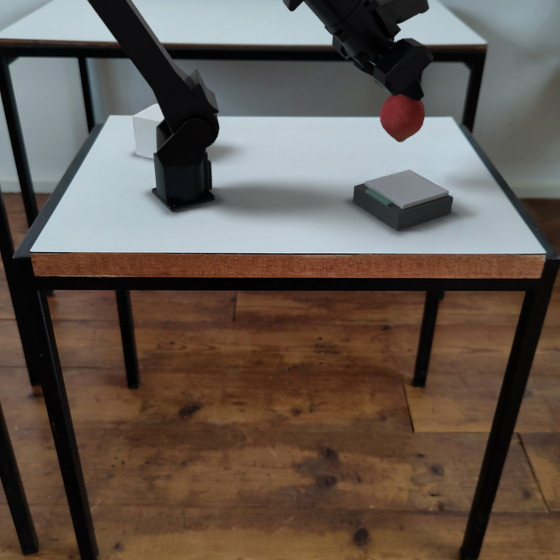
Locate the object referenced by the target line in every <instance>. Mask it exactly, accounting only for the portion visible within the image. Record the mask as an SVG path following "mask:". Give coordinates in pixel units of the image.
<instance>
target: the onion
mask: <svg viewBox="0 0 560 560" xmlns="http://www.w3.org/2000/svg"><path fill="white" fill-rule="evenodd" d="M425 110H426V109H425V105H424V103H423V101H422V99H421V100H420V101H416V100H413V99H411V98H409V97H406V96H404V95H401V94H399V95H397V96H394V97H393V96H392V95H391V94H390V95H388V96H387V98H386V99H385V100H384V102H383V105H382V107H381V109H380V113H379V122H380V125H381V127H382V129H383V130H384V131H385V132H386V133H387V135H389V136H390V137H391V138H392V139H394V140H395V141H396V142H398V143H403V142H405V141H406V140H407V139H409V138H411V137H413V136H415V134H418V132H419V131H420V130H421V129H422V127H423V125H424V122H425V118H426V111H425Z"/></svg>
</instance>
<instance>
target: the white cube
mask: <svg viewBox="0 0 560 560" xmlns="http://www.w3.org/2000/svg"><path fill="white" fill-rule="evenodd" d="M131 118H132V127H133V137H134V147H135V155H136V156H140V157H145V158H149V159H153V160H154V157H153V153H156V152H157V148H156V127H157V125H158V124H159V123H160V122H161V121H162V120H163V119H164V116H163V114H162V112H161V109H160V107H159V104H158V103H154V104H152V105H150V106H147V107H146V108H145V109H143V110H140V111H139V112H138V113H135V114H133V115H131Z"/></svg>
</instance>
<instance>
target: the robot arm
mask: <svg viewBox="0 0 560 560" xmlns="http://www.w3.org/2000/svg"><path fill="white" fill-rule="evenodd" d="M86 2H87V3H88V4H89V5H90V6H91V8H92V9H93V10H94V13H96V15H97V16H98V17H99V18H100V20H101V22H102V23H103V24H104V26H105V27H106V28H107V30H108V31H109V33H110V34H111V35H112V36H113V38H114V39H115V41H116V42H117V44H118V45H119V46H120V48H121V49H122V51H123V52H124V53H125V54H126V56H127V57H128V59H129V60H130V61H131V63H132V64H133V65H134V67H135V68H136V69H137V71H138V72H139V74H140V75H141V76H142V78H143V79H144V80H145V82H146V84H147V85H148V86H149V88H150V89H151V91H152V92H153V95H154V97H155V99H156V102H157V104H159V107H160V109H161V112H162V114H163V116H164V119H163V120H162V121H161V122H160V123H159V124H158V125H157V127H156V148H157V152H156V153H153V157H154V159H153V166H154V167H153V168H154V177H155V178H154V179H155V187H152V188H151V194H153V195H154V197H156V198H157V199H158V201H160V202H161V203H162V204H163V205H164V206H165V207H166V208H167V209H168V210H169V211H171V212H173V211H174V212H175V211H179V210H183V209H187V208H190V207H194V206H198V205H202V204H205V203H209V202H213V201H216V195H215V194H214V193H213V192H212V190H213V188H214V187H213V170H212V169H213V168H212V167H213V166H212V161H211V160H209V153H208V150H207V148H209V147H211V146H212V145H213V144H214V143H215V142H216V140H217V139H218V137H219V133H220V122H219V118H218V117H219V116H218V114H219V113H220V110H219V106H218V101H217V97H216V94H215V92H214V91H212V90H211V89H209V87H208V86H207V85H206V84H205V82H204V80H203V77H202V75H201V74H200V71H199V69H197V68H196V69H195V70H193V72H191V73H190V74H188V73H186V71H184V70H183V69H181V68H180V67H179V66H178V65H177V64H176V63H175V61H174V60H173V58H172V57H171V55H170V54H169V53H168V51H167V50H166V48H165V46H164V45H163V44H162V42H161V40H159V38H158V36H157V35H156V33H155V32H154V31H153V29H152V27H150V25H149V24H148V22H147V21H146V19H145V18H144V16H143V15H142V13H141V12H140V10H139V9H138V7H137V6H136V5H135V3H134V1H133V0H86ZM282 3H283V5H284V6H285V7H286V8H287V9H288V11H289V12H291V13H292V12H295V11H296V10H297V9H298V8H299V7H300V5H302V4H303V3H304V4H305V5H306V6H307V7H308V8H309V9H310V11H311V12H312V13H313V14H314V15H315V16H316V17H317V19H318V20H319V21H320V22H321V23H322V24H323V25H324V27H323V28H324V29H325V30H326V31H327V32H328V34H330V35H331V36H332V39H331V40H332V41H331V46H332V47H333V48H334V49H335V50H336V52H337V53H338V54H339V55H340V56H342V57H343V58H344V59H345V60H348V59H349V58H352V59H353V60H354V61H353V62H352V65H353V66H354V67H355V68H357V69H358V70H360V71H361V72H363V73H364V74H367V75H369V76H371V77H372V78H373V79H374V82H375V83H376V84H377V85H378V86H380V87H381V89H383V90H384V91H386V92H387V93H388V94H390V95H392V96H393V97H394V96H397V95H399V94H401V95H404V96H406V97H409V98H411V99H413V100H416V101H420V100H421V101H422V99H423V98H424V97H425V93H424V90H423V88H422V85H421V83H420V80H419V75H420V74H422V72H423V71H425V69H426V68H428V67H429V66H430V64H432V63H433V60H434V55H433V53H431V52H430V50H429V49H428V48H427V46H426V45H425V44H423V43H422V42H420V41H418V40H416V39H414V38H413V37H403V38H402V37H401V39H397V40H395V37H396V36H397V35H398V34H399V33H400V32H401V31H402V29H401V27H400V26H399V25H400V24H402V23H403V24H404V23H405V22H406V21H408V20H410V19H412V18H414V17H415V16H418V15H420V14H421V15H424V14H425V13H426V12H428V11H429V10H430V3H429V0H282Z"/></svg>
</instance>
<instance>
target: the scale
mask: <svg viewBox="0 0 560 560" xmlns="http://www.w3.org/2000/svg"><path fill="white" fill-rule="evenodd" d="M453 201H454V197H453V196H452V195H450V190H448V189H446V188H444V187H443V186H441V185H439V184H437V183H435V182H433V181H432V180H431V179H428V178H426V177H424V176H422V175H421V174H419V173H417V172H415V171H414V170H412V169H405V170H402V171H398V172H395V173H394V172H393V173H391V174H388V175H384V176H380V177H376V178H373V179H370V180H366V181H364V182H363V183H359V184H356V185H353V195H352V203H353V204H355V205H356V206H358V207H359V208H361V209H363V210H364V211H365V212H367V213H369V214H370V215H372V216H373V217H375V218H376V219H378V220H379V221H381V222H382V223H384V224H385V225H386V226H388V227H390V228H391V229H393V230H395V231H396V232H398V231H401V230H404V229H405V230H406V229H408V228H411V227H414V226H417V225H420V224H423V223H426V222H429V221H433V220H435V219H439V218H441V217H444V216H449V215H451V213H452V207H453Z"/></svg>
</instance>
